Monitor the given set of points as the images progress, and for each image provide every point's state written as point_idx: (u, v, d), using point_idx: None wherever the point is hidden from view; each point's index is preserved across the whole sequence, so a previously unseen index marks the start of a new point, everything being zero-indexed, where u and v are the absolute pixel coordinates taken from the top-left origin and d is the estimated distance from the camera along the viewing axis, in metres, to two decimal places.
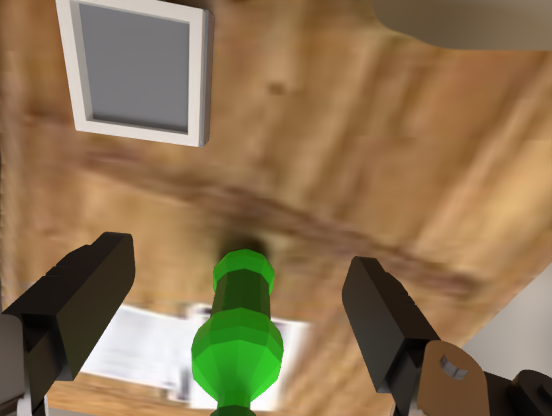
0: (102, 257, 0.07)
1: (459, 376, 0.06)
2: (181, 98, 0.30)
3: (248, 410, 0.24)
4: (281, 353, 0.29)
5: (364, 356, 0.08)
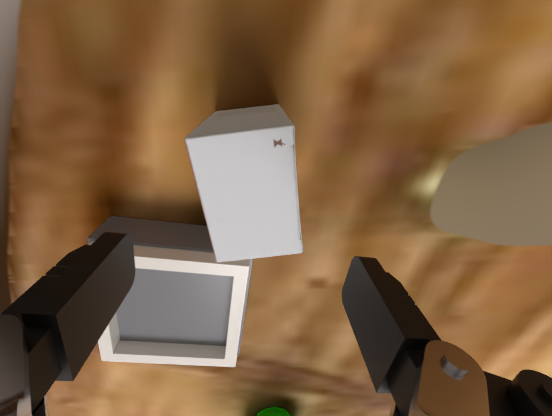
0: (102, 257, 0.07)
1: (459, 376, 0.06)
2: (217, 321, 0.27)
3: None
4: None
5: (364, 356, 0.08)
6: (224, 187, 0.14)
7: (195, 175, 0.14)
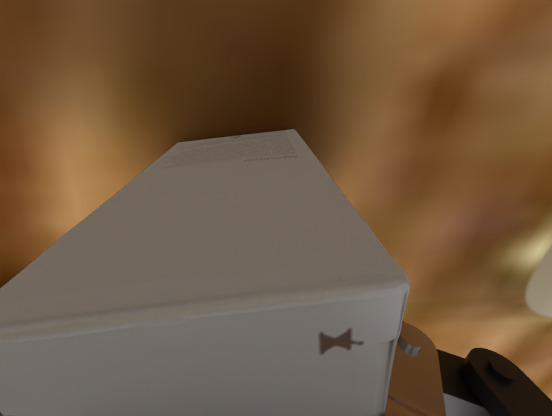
0: None
1: (412, 352, 0.06)
2: None
3: None
4: None
5: None
6: None
7: None
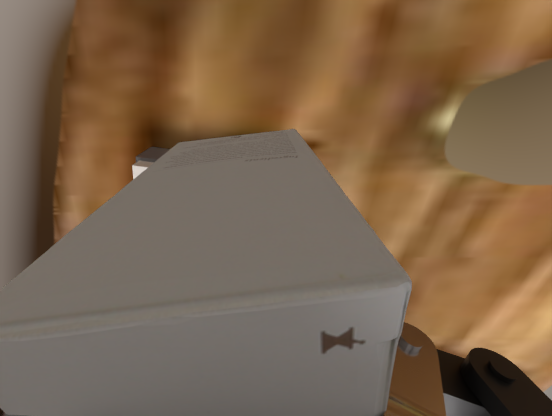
0: None
1: (412, 352, 0.06)
2: None
3: None
4: None
5: None
6: None
7: None
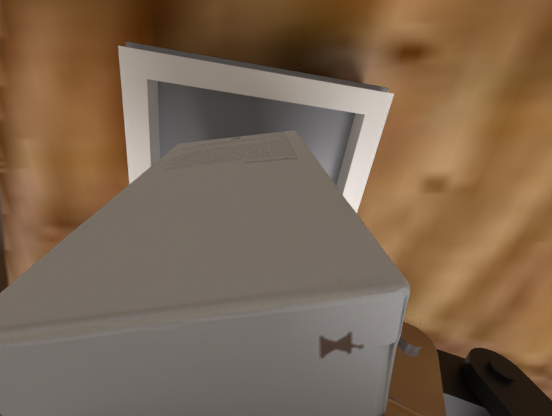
0: None
1: (412, 352, 0.06)
2: None
3: None
4: None
5: None
6: None
7: None
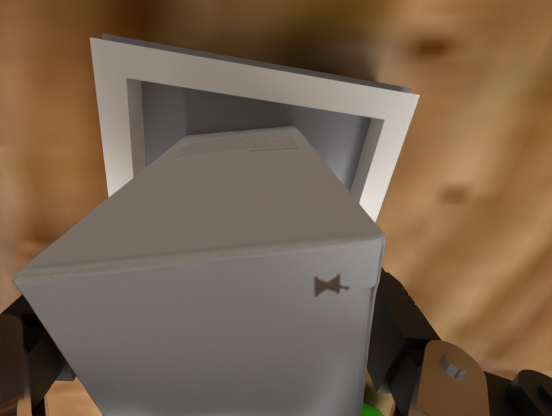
0: None
1: (459, 376, 0.06)
2: None
3: None
4: None
5: None
6: (162, 390, 0.05)
7: (71, 365, 0.05)
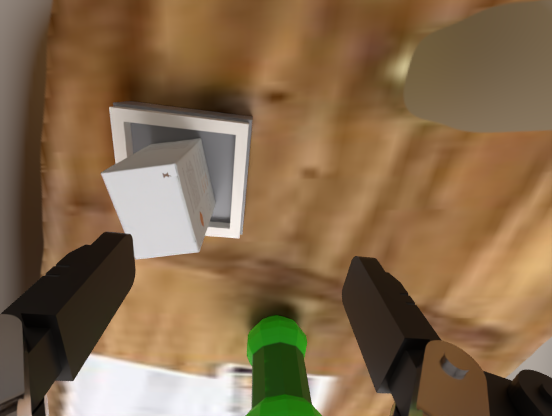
0: (102, 257, 0.07)
1: (459, 376, 0.06)
2: (223, 194, 0.32)
3: None
4: None
5: (364, 356, 0.08)
6: (132, 205, 0.20)
7: (111, 197, 0.20)
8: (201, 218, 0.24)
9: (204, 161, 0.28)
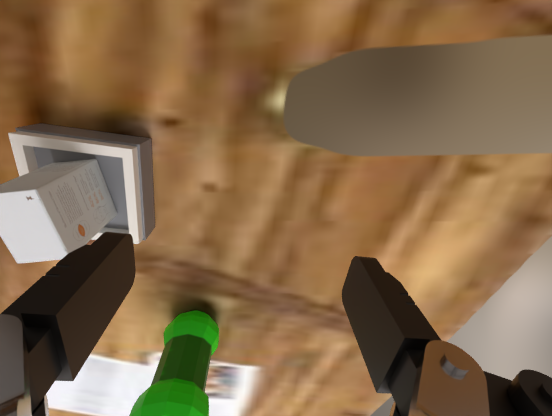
0: (102, 257, 0.07)
1: (459, 376, 0.06)
2: (123, 206, 0.36)
3: None
4: None
5: (364, 356, 0.08)
6: (5, 221, 0.25)
7: None
8: (80, 229, 0.29)
9: (98, 178, 0.33)
